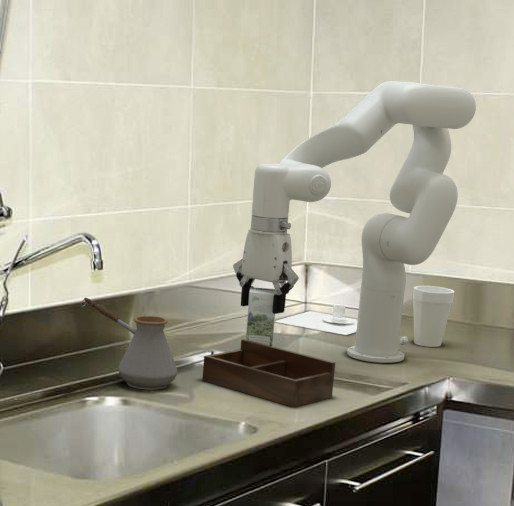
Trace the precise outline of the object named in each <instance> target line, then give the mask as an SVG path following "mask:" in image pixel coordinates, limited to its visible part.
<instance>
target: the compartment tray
mask: <svg viewBox="0 0 514 506" xmlns="http://www.w3.org/2000/svg"><path fill="white" fill-rule="evenodd" d="M335 370H336V362H335V361H332V360H328V359H324V358H320V357H315V356H312V355H309V354H304V353H300V352H297V351H293V350H289V349H284V348H280V347H277V346H274V345H273V346H269V345H265V344H261V343H258V342H254V341H250V340H246V338H243V339H242V338H241V339H240V349H234V350H230V351H224V352H218V353H212V354H207V355H204V356H203V367H202V378H201V379H202V382H207V383H210V384H213V385H217V386H220V387H224V388H227V389H230V390H234V391H237V392H240V393H244V394H246V395H251V396H254V397H257V398H260V399H264V400H267V401H271V402H275V403H278V404H280V405H285V406H288V407H292V408H296V407H299V406H304V405H308V404H311V403H316V402H320V401H324V400H327V399H332V398H333V390H334V380H335V373H336V371H335Z"/></svg>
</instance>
